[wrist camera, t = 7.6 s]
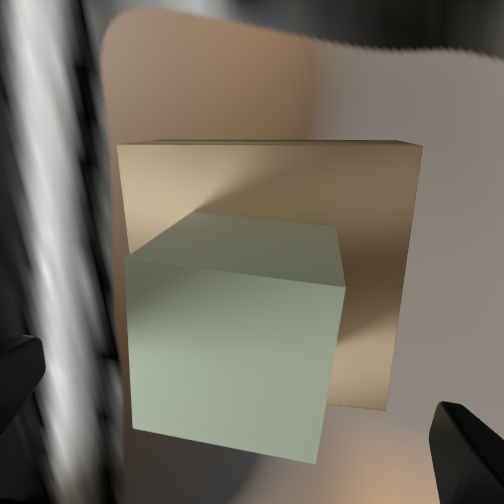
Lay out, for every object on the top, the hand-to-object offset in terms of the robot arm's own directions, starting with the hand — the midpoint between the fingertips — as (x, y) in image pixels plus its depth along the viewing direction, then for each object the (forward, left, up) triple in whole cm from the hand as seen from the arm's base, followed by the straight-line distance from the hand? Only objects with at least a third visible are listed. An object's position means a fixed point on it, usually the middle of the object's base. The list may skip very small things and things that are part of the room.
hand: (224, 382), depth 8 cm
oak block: (0, 0, -10) cm, 10 cm away
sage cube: (0, 0, -6) cm, 6 cm away
